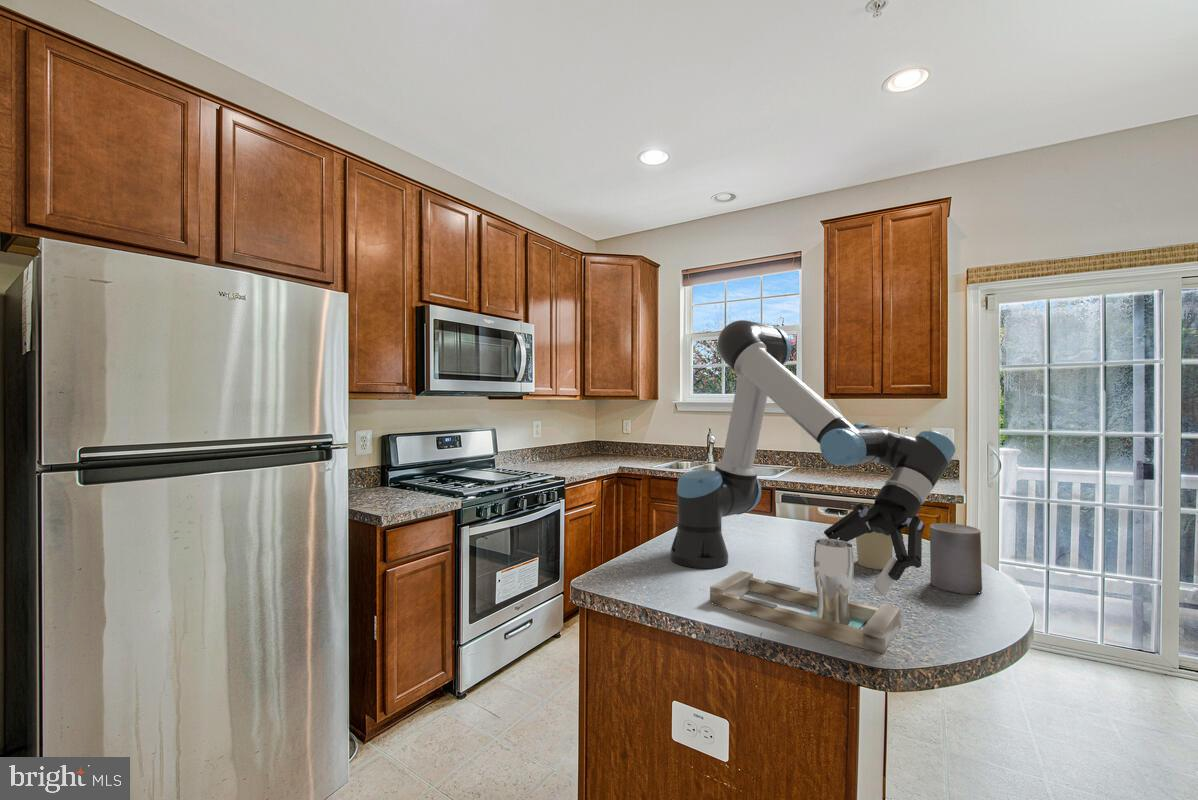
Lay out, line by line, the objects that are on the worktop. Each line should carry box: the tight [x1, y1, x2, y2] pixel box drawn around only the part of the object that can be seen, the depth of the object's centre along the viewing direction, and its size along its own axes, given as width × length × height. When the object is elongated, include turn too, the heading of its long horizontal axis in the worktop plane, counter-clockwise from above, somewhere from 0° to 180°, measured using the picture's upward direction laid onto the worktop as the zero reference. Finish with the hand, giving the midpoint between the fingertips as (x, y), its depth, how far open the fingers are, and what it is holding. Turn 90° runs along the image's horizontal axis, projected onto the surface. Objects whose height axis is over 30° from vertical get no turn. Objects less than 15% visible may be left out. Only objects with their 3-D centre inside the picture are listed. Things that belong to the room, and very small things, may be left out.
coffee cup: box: [855, 522, 894, 570], centre depth 132 cm, size 9×9×12 cm
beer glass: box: [812, 538, 855, 626], centre depth 95 cm, size 7×7×15 cm
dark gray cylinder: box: [929, 521, 983, 595], centre depth 116 cm, size 10×10×15 cm
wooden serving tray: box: [709, 570, 902, 655], centre depth 99 cm, size 32×14×4 cm, turn 49°
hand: (847, 579), depth 96 cm, fingers open, 13 cm apart
